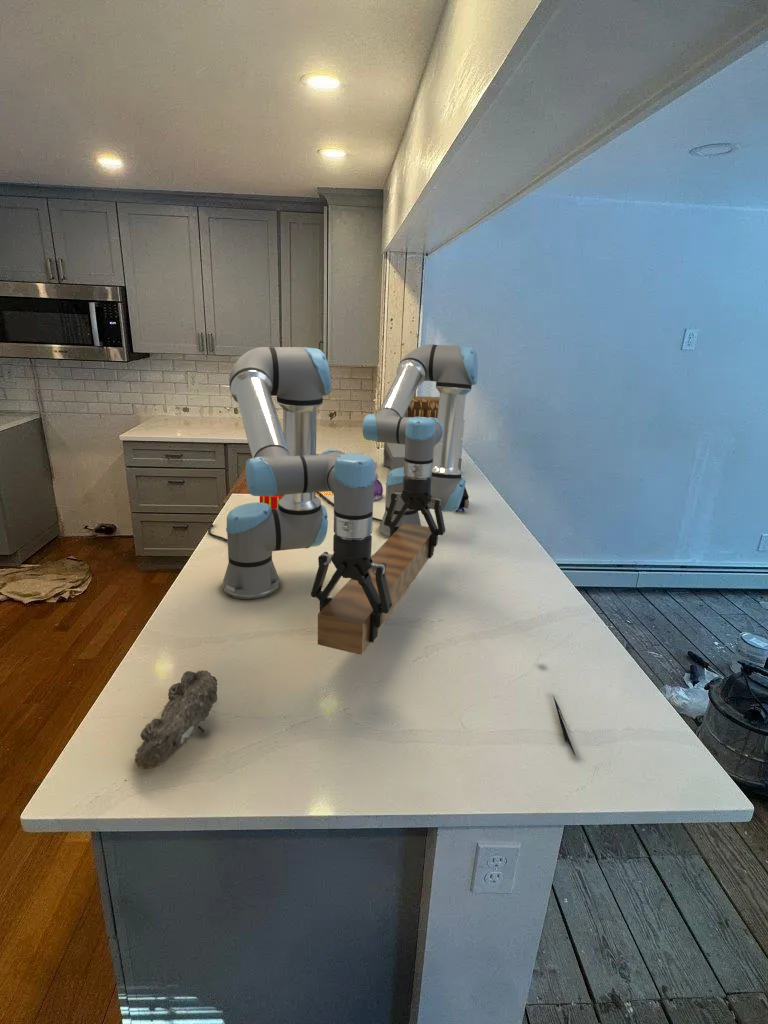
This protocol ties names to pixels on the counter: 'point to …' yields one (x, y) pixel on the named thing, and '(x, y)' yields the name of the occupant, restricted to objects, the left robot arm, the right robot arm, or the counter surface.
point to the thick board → (350, 607)
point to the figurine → (377, 486)
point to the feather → (563, 726)
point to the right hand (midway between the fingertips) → (412, 553)
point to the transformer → (417, 408)
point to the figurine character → (464, 501)
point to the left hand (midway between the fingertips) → (350, 633)
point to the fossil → (178, 718)
